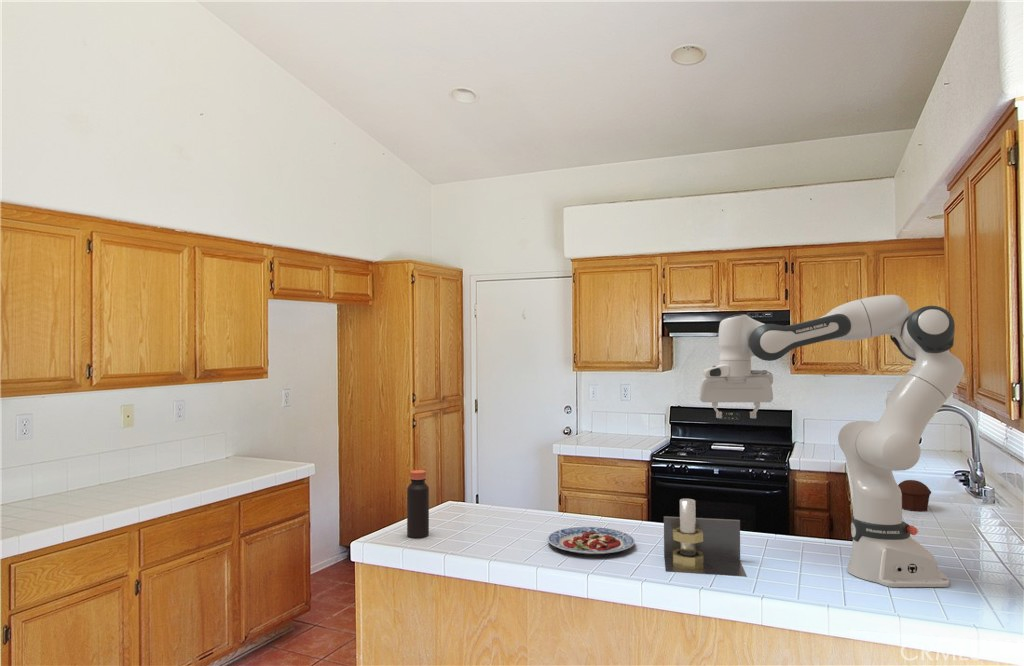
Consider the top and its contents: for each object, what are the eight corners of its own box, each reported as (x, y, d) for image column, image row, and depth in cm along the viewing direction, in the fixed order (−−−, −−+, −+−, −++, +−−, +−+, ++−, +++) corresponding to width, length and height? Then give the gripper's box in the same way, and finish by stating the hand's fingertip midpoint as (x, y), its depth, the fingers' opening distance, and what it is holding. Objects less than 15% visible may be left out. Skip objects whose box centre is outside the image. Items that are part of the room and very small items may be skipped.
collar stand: (739, 564, 179) (739, 519, 179) (747, 581, 166) (746, 533, 166) (664, 559, 183) (663, 516, 183) (665, 576, 170) (665, 529, 170)
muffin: (891, 503, 245) (890, 476, 245) (924, 505, 242) (924, 478, 243) (901, 511, 234) (900, 483, 234) (936, 513, 231) (936, 485, 231)
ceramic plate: (584, 529, 214) (584, 519, 214) (652, 546, 196) (652, 536, 196) (529, 546, 196) (529, 536, 196) (598, 566, 178) (598, 555, 178)
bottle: (422, 539, 202) (422, 474, 203) (403, 537, 205) (403, 472, 205) (432, 533, 209) (432, 470, 209) (413, 531, 211) (413, 468, 211)
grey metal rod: (696, 562, 177) (695, 498, 177) (697, 567, 173) (696, 502, 173) (679, 561, 178) (678, 498, 178) (680, 566, 173) (679, 502, 174)
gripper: (770, 369, 193) (771, 416, 192) (698, 370, 196) (699, 416, 196) (775, 370, 186) (776, 419, 186) (700, 371, 190) (701, 419, 190)
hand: (736, 418), depth 191 cm, fingers open, 8 cm apart
